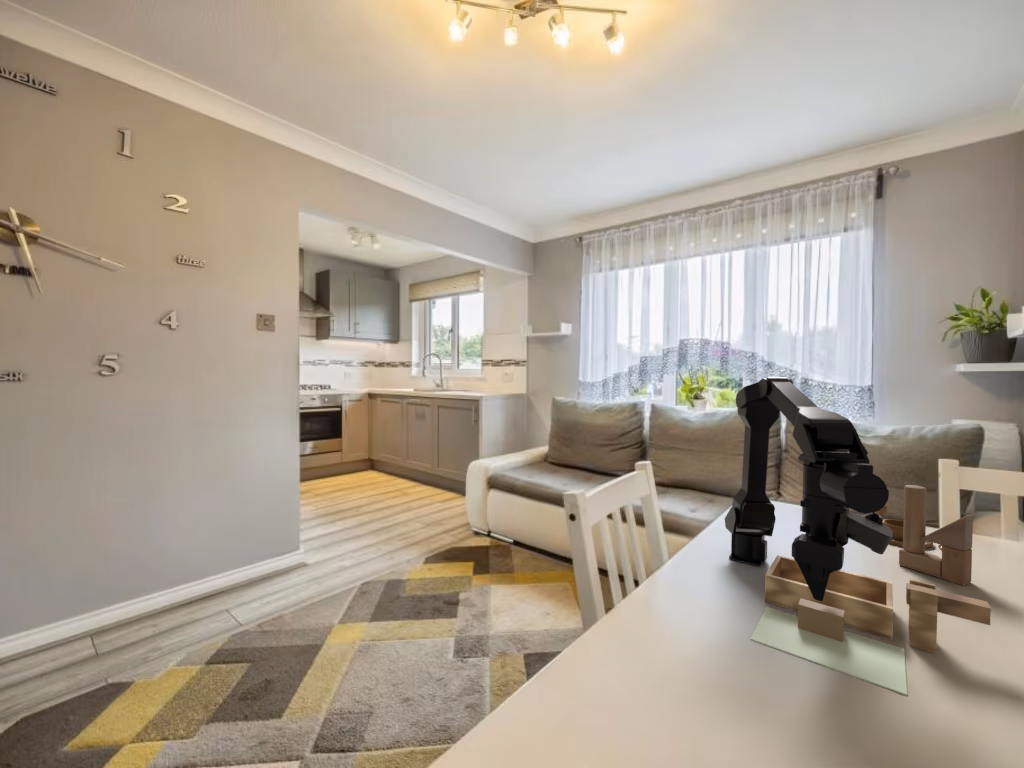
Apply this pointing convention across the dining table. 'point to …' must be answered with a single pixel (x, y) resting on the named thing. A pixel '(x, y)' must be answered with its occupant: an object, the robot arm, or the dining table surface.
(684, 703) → the dining table surface
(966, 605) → the wooden plank
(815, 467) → the robot arm
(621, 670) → the dining table surface
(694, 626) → the dining table surface
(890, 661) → the lid
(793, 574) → the tan wooden box
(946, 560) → the wooden block structure
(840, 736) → the dining table surface
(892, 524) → the place setting
